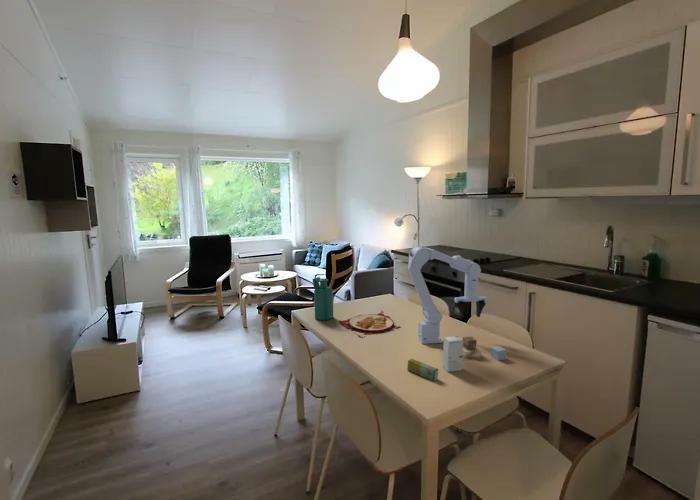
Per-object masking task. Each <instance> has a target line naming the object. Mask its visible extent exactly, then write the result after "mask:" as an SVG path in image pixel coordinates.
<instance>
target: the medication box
mask: <svg viewBox="0 0 700 500" xmlns="http://www.w3.org/2000/svg"><path fill="white" fill-rule="evenodd" d="M406 369H407V371H408V372H409V371H410V372H412V373H414V374H415V375H419V376H421V377H424V378H426V379H428V380H430V381H433V382H436V381H438V378H439V368H436V367H434V366H432V365H429V364H426V363H424V362H421V361H419V360H416V359H413V358H410V359H408V360H407V368H406Z"/></svg>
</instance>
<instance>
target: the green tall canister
mask: <svg viewBox="0 0 700 500" xmlns="http://www.w3.org/2000/svg"><path fill="white" fill-rule="evenodd" d="M327 282H329V279H328V278H321V277H320V276H318V277H314V278H312V285H313V286H312V287H313V288H314V290H313V291H314V292H313V294H314V295H313V296H314V299H313V300H314V301H313V302H314V318H315V319H316V320H320V321H324V322H326V321H329V320H331V319H333V318H334V289H333V288H332V287H330V286H328V283H327Z"/></svg>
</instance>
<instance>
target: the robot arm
mask: <svg viewBox="0 0 700 500" xmlns="http://www.w3.org/2000/svg"><path fill="white" fill-rule="evenodd" d="M434 259H436V260H439V261H441V262H443V263H447V264H449V266H450V268H452V269H455V270H457V271H460V272H463V273H464V291H463V292H464V296H463V295H462V296H458V297H454V303H456V305H457V308H458V311H459V316H460V318H462V319H464V317H465V308H466V304H465V303H469V302H470V303H471V302H475V305H476V311H475V313H476V317H478V318H480V317H481V315H482V311H483V309H484V308H485V307H486V304H487V303H486V302H488V297H487V296H484V295H483V296H482V295H481V296H480V295H479V296H478V294H479V293H478V290H479V275H480V274H481V272H482V269H481V266H480V264H478V263H477V262H474V261H472V260H471V259H466V258H463V257H462V255H460V254H458V255H453V256H451V255H447V254H445V253H442V252H441V251H438V250H435V249H432V248H429V247H424V246H423V247H422V246H421V245H415V246H413V247H412V248H411V249H410V251H409V253H408V263H407V271H408V274H409V275H410V278H411V280H412V283H413V286H414V287H415V291H416V292H417V294H418V297H419V300H420V301H421V307H422V315H423V316H424V318H423V321H420V322H419V321H418V326H417V327H418V328H417V339H418V340H419V341H420V343H421V344H444V341H443V340H442V339H441V338H440V337H441V335H440V334H441V332H440V331H441V321H442V319H443V315H442V312H441V311H440V310H439V309H438V308H437V306H436V304H435V302H434V300H433V298H432V296H431V293H430V291H429V288H428V286H427V284H426V281H425V278H424V275H423V274H422V272H421V270H422V267H423V266H424V265H425V264H427V262H428V261H433V260H434Z"/></svg>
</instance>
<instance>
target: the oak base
mask: <svg viewBox="0 0 700 500" xmlns="http://www.w3.org/2000/svg"><path fill="white" fill-rule="evenodd" d="M480 357H482V350H481V349H480V348H478V346H476V349H475V350H466V349H465V348H464V347H463V350H462V358H464V359H471V358H480Z"/></svg>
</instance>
